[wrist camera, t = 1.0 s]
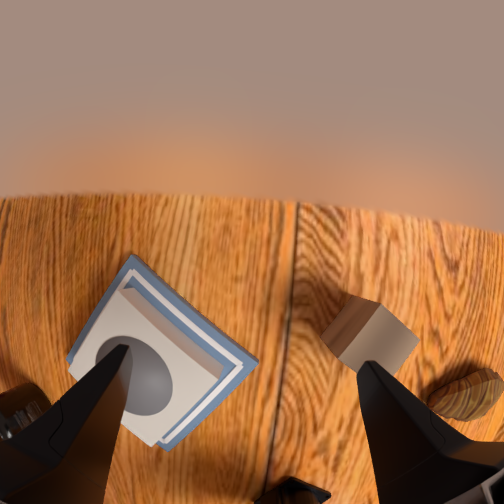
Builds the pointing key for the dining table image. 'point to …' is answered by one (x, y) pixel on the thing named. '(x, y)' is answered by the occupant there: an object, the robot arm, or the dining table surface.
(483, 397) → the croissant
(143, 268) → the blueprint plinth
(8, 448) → the robot arm
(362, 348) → the walnut block
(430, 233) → the dining table surface
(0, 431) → the supplement bottle
